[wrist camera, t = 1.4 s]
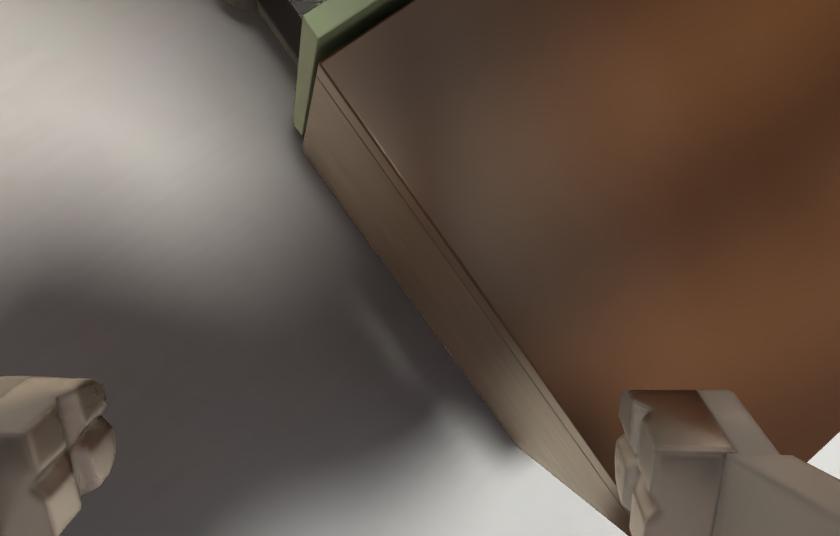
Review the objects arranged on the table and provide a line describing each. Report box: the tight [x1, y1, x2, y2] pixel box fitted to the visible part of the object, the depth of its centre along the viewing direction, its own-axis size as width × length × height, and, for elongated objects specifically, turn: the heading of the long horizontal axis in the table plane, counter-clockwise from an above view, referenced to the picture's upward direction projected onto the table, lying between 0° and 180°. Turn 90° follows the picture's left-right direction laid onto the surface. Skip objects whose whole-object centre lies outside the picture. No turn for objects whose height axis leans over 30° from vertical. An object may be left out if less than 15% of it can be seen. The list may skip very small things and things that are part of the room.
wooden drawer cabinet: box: [302, 0, 840, 536], centre depth 22 cm, size 16×14×12 cm
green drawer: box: [226, 0, 412, 135], centre depth 21 cm, size 22×14×11 cm, turn 36°
